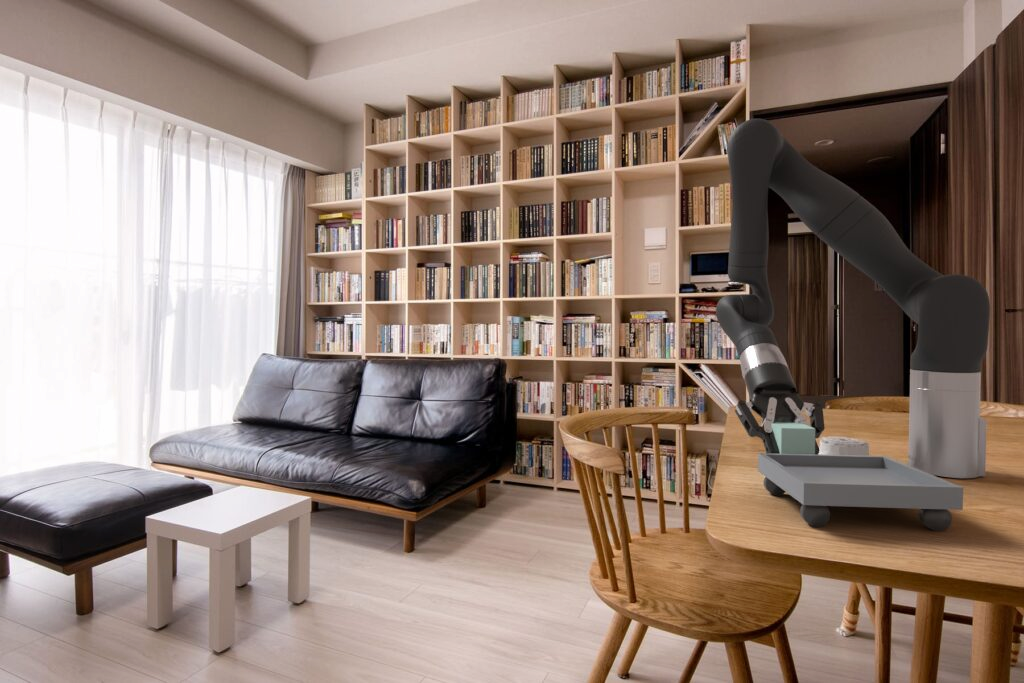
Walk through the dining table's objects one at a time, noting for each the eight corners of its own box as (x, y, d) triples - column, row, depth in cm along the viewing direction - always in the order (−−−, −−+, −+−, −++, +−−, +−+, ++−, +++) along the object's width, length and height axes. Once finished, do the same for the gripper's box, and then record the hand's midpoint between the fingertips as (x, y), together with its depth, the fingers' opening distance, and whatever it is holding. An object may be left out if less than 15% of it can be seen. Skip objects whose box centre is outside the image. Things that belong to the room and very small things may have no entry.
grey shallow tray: (884, 494, 76) (885, 455, 76) (962, 534, 62) (963, 487, 61) (757, 490, 78) (758, 453, 78) (803, 529, 63) (803, 483, 63)
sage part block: (799, 477, 85) (800, 422, 85) (814, 486, 80) (815, 428, 80) (768, 476, 86) (768, 422, 86) (780, 485, 81) (781, 428, 81)
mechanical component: (823, 469, 90) (888, 473, 88) (823, 444, 90) (888, 447, 88) (804, 455, 100) (861, 458, 98) (804, 433, 100) (862, 435, 98)
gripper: (729, 360, 91) (753, 443, 80) (815, 360, 90) (852, 445, 78) (720, 387, 97) (741, 468, 85) (801, 387, 95) (834, 470, 83)
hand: (794, 457), depth 82 cm, fingers closed on sage part block, 5 cm apart
